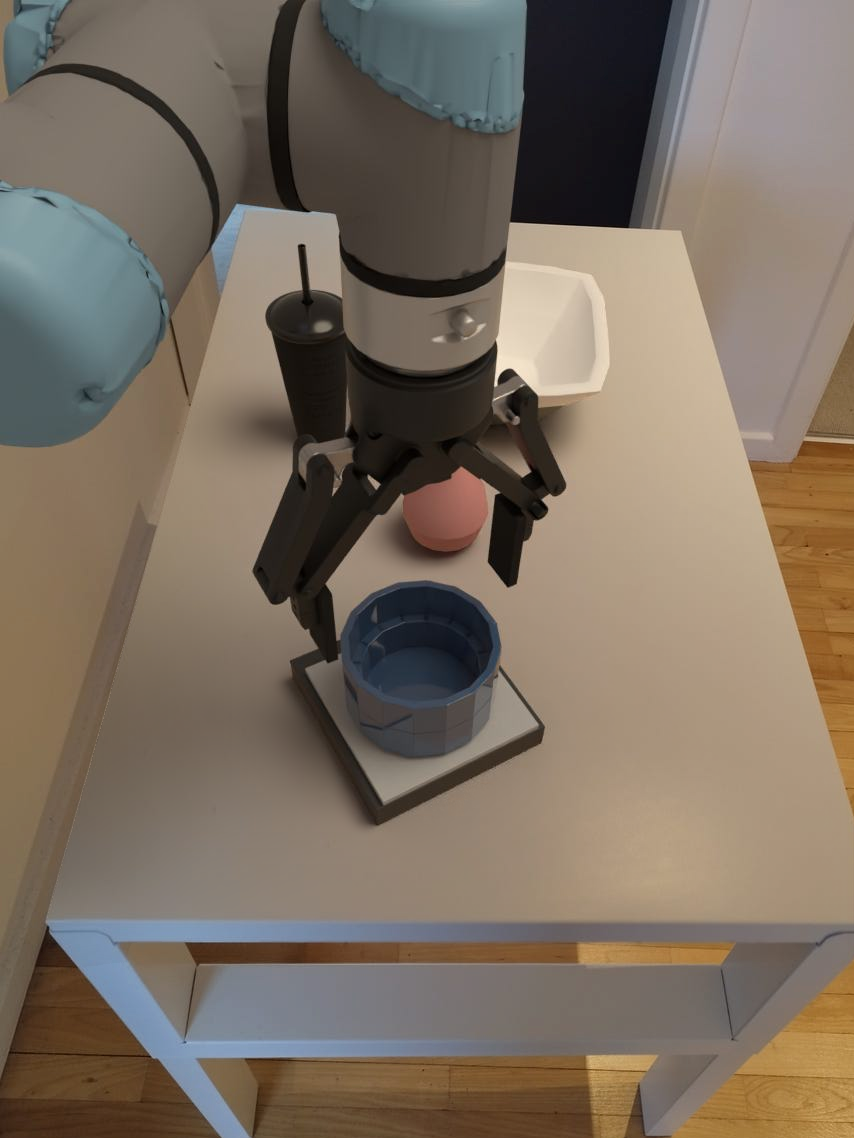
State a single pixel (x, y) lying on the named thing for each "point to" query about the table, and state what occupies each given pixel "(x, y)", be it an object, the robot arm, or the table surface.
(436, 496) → the pink bud vase
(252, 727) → the table surface
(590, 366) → the bowl
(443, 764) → the scale
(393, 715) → the blue bowl
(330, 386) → the drinking cup
